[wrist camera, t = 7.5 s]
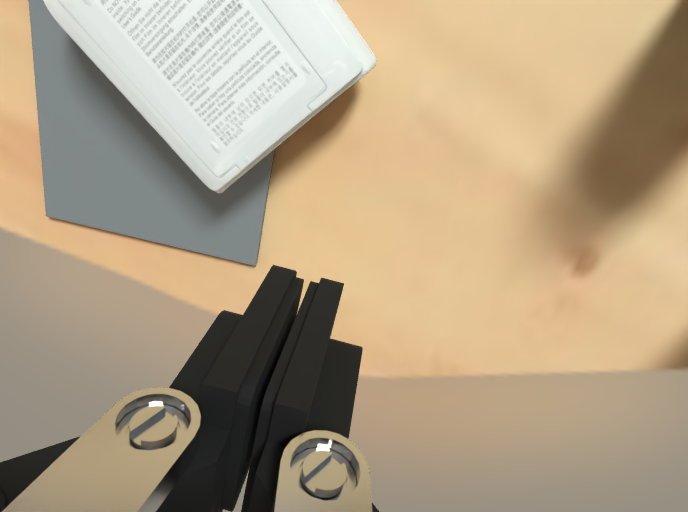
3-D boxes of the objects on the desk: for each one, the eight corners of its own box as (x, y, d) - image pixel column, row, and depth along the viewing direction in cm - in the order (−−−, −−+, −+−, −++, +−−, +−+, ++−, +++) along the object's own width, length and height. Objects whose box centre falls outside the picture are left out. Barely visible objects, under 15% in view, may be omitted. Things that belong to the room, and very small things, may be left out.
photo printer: (382, 57, 23) (199, -200, 19) (380, 63, 19) (150, -257, 15) (235, 181, 26) (58, -15, 23) (208, 208, 22) (-11, -23, 19)
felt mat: (302, -33, 22) (301, -34, 21) (257, 262, 29) (255, 266, 28) (26, -103, 21) (20, -105, 21) (50, 213, 29) (46, 216, 28)
